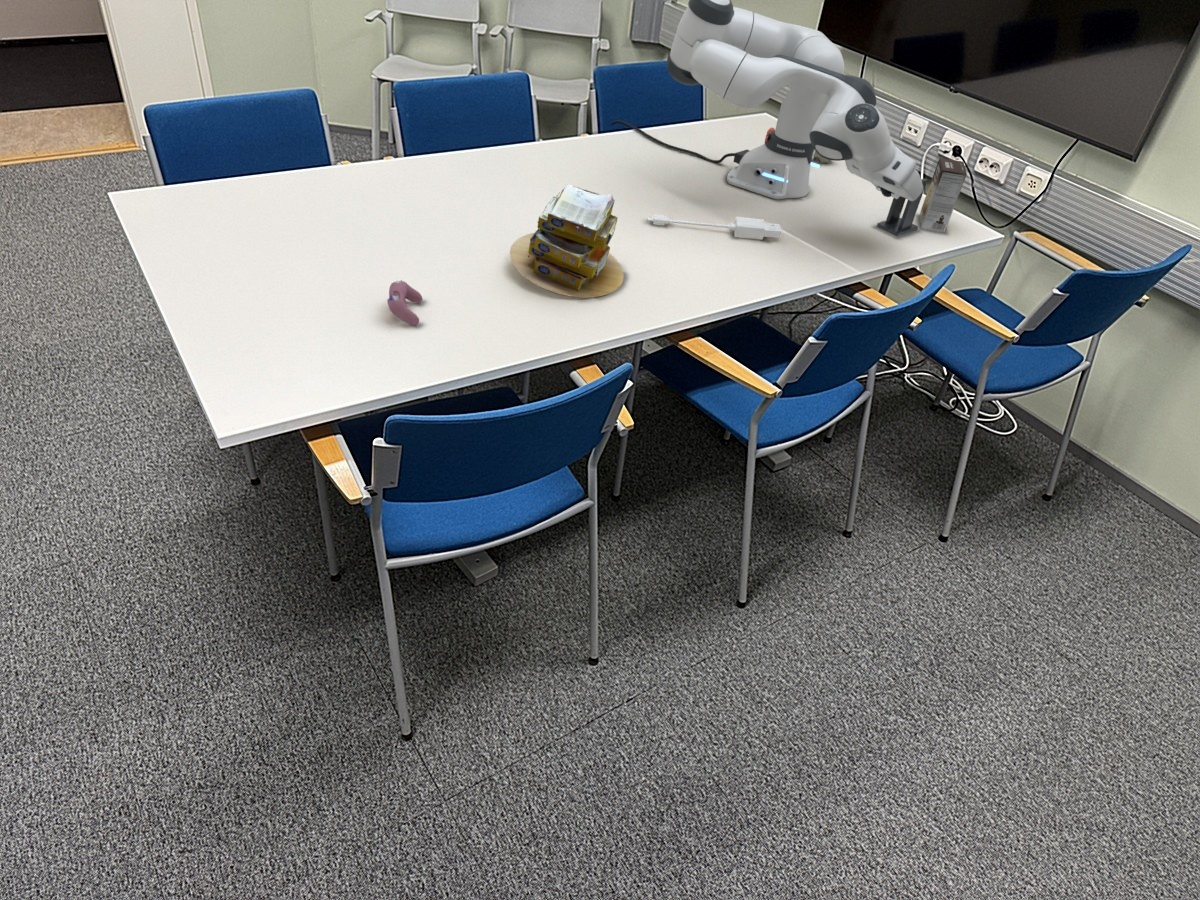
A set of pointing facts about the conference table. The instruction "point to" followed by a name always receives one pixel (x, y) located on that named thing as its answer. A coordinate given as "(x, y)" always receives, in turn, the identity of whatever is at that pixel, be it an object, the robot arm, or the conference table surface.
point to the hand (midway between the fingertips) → (889, 192)
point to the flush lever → (886, 192)
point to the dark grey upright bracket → (903, 224)
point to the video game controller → (403, 301)
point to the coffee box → (942, 194)
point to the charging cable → (733, 226)
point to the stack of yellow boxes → (571, 246)
